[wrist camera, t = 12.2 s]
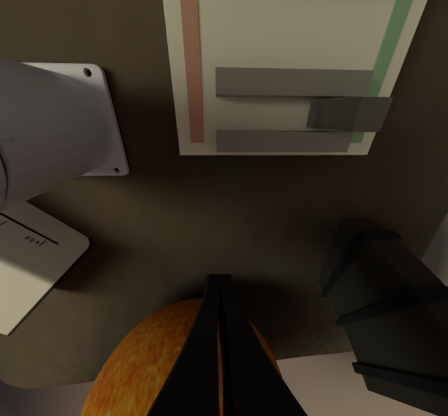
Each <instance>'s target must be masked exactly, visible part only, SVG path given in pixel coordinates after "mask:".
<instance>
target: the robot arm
mask: <svg viewBox="0 0 448 416" xmlns="http://www.w3.org/2000/svg"><path fill="white" fill-rule="evenodd" d="M88 69H89V70H90V71H91V73H92V75H91V77H89V76H88V74H87V71H88ZM115 167H116V168H118V169H119V172H117V171H116V169H115ZM128 173H129V166H128V162H127V158H126V155H125V151H124V147H123V143H122V139H121V135H120V131H119V127H118V123H117V119H116V115H115V111H114V108H113V104H112V100H111V96H110V92H109V88H108V84H107V80H106V76H105V73H104V71H103V69H102V68H101V67H100V66H98V65H95V64H74V63H26V62H16V61H12V60H9V59H5V58H1V57H0V212H3V211H5V210H7V209H9V208H11V207H14V206H16V205H18V204H20V203H22V202H24V201H27V200H29V199H31V198H33V197H35V196H38V195H40V194H42V193H44V192H46V191H49V190H51V189H53V188H55V187H57V186H60V185H62V184H64V183H66V182H68V181H70V180H73V179H75V178H77V177H79V176H124V175H127V174H128ZM218 325H219V337H220V349H221V360H222V388H223V416H307V414H306V413H305V412H304V410H303V408H302V407H301V406H300V404H299V403H298V401H297V400H296V398H295V397H294V396H293V394H292V393H291V391H290V390H289V388H288V386H287V385H286V383H285V382H284V380H283V379H282V377H281V376H280V374H279V373H278V371H277V370H276V368H275V366H274V365H273V363H272V361H271V360H270V358H269V357H268V355H267V353H266V351H265V350H264V348H263V346H262V344H261V343H260V341H259V339H258V337H257V335H256V333H255V331H254V329H253V327H252V325H251V324H250V322H249V319H248V317H247V315H246V313H245V311H244V308H243V306H242V304H241V302H240V299H239V297H238V294H237V291H236V288H235V286H234V282H233V279H232V276H231V275H230V274H209V275H207V282H206V286H205V290H204V294H203V297H202V300H201V303H200V306H199V309H198V312H197V315H196V317H195V320H194V322H193V324H192V327H191V329H190V332H189V334H188V336H187V339H186V341H185V343H184V345H183V347H182V349H181V351H180V354H179V356H178V358H177V360H176V362H175V364H174V365H173V367H172V369H171V371H170V373H169V375H168V377H167V379H166V381H165V383H164V385H163V386H162V388H161V390H160V392H159V394H158V395H157V397H156V399H155V401H154V402H153V404H152V406H151V408H150V410H149V411H148V413H147V415H146V416H220V407H219V374H218Z"/></svg>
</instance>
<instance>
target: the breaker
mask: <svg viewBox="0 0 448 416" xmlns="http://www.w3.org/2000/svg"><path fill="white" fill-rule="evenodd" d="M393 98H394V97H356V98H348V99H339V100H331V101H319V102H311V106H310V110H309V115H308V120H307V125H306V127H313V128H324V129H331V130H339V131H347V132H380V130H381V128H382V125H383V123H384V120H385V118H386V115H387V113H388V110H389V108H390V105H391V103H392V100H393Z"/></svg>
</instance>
